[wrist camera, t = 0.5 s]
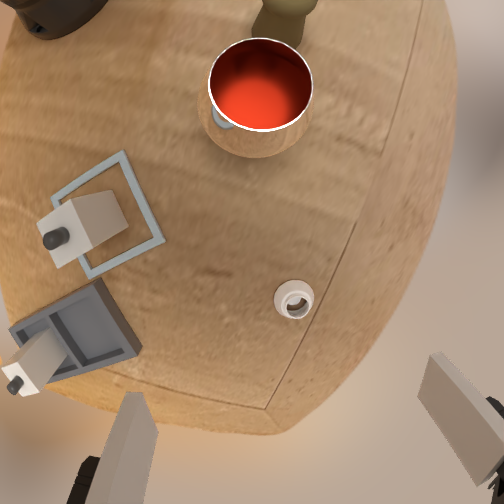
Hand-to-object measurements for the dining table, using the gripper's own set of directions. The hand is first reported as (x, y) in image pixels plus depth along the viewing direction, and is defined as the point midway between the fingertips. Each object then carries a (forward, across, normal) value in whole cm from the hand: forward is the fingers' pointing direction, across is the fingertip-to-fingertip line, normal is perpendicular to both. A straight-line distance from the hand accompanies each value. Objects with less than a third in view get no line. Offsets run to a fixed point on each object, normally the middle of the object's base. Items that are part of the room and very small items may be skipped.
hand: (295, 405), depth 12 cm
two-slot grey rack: (+25, -28, -10) cm, 39 cm away
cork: (+25, +4, +26) cm, 37 cm away
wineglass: (+25, 0, +14) cm, 29 cm away
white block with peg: (+25, -18, +6) cm, 31 cm away
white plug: (+24, -33, -12) cm, 43 cm away
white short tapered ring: (+25, +4, -7) cm, 26 cm away
